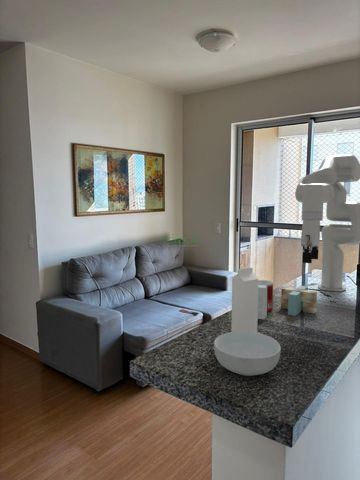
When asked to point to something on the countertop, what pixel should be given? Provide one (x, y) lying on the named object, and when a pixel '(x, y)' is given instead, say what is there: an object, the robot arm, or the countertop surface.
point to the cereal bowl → (247, 352)
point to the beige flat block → (306, 297)
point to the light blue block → (295, 301)
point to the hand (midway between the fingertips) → (310, 260)
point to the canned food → (268, 293)
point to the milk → (244, 301)
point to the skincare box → (262, 301)
